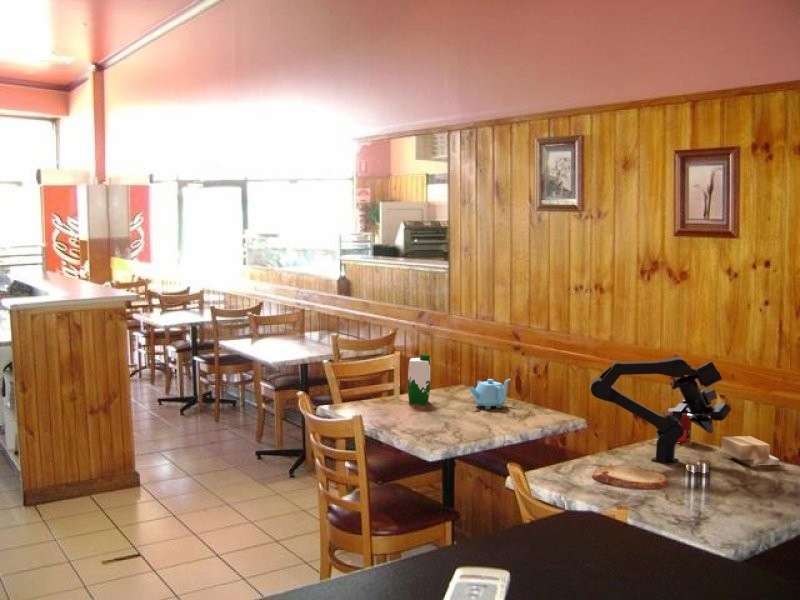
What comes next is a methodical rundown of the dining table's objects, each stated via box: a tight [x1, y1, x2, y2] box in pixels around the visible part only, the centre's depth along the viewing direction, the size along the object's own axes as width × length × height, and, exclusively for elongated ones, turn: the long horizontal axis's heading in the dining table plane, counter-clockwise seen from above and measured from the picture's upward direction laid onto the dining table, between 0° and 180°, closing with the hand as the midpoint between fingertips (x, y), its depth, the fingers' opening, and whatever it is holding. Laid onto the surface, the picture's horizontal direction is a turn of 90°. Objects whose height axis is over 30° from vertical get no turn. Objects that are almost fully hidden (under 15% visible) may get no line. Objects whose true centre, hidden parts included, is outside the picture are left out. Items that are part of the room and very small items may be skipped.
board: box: [727, 453, 780, 466], centre depth 279 cm, size 10×13×2 cm
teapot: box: [468, 378, 511, 410], centre depth 351 cm, size 15×14×11 cm
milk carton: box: [407, 353, 431, 405], centre depth 355 cm, size 9×9×20 cm
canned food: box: [667, 407, 692, 444], centre depth 302 cm, size 8×8×11 cm
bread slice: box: [591, 464, 670, 489], centre depth 254 cm, size 18×18×4 cm
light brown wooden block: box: [721, 435, 771, 460], centre depth 278 cm, size 4×11×10 cm
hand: (711, 432), depth 277 cm, fingers closed
